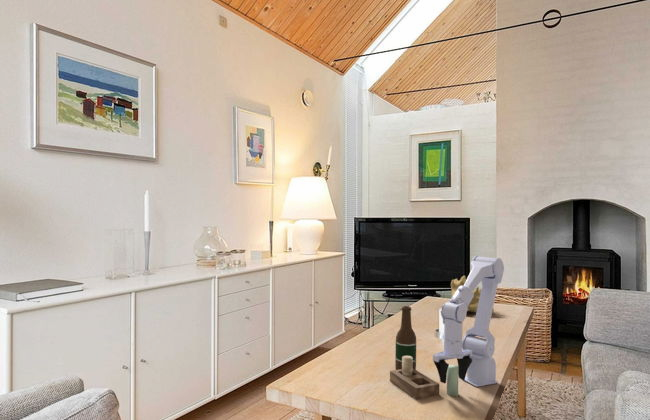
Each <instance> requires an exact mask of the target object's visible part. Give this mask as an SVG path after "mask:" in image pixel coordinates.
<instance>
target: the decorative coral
mask: <svg viewBox="0 0 650 420" xmlns="http://www.w3.org/2000/svg"><path fill="white" fill-rule="evenodd" d="M466 280H467V277H466V275H463V276H461V277H460V279H459V280H458V278H455V279H452V280H451V282H450V287H451V298H452V297H453V295H454V293H455V292H456V290H457V289H458V287H459V286H464V284H465V282H466ZM481 289H482V288H480V287H479V286H476V288H475V289H474V290H473V293H474V297H473V299H472V300H471V302H470V303H469V305H468V307H467V308H468V310H467V312H471V313H474V314H476V313H477V308H478V303H479V299H480V294H481ZM494 311H495V310H494V308H493V310H492V313H494Z"/></svg>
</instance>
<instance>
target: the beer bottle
mask: <svg viewBox="0 0 650 420" xmlns="http://www.w3.org/2000/svg"><path fill="white" fill-rule="evenodd" d="M400 310H401V321H400V322H401V323H400V329H399V330H398V331H397V333H396V336H395V356H394V357H395V370H399V369H402V357H403V356H411V357H413V369H415V370H416V369H417V335H416V333H415V331H414V330H413V328H412V307H411V306H407V305H403V306H402V307H401V309H400Z"/></svg>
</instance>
